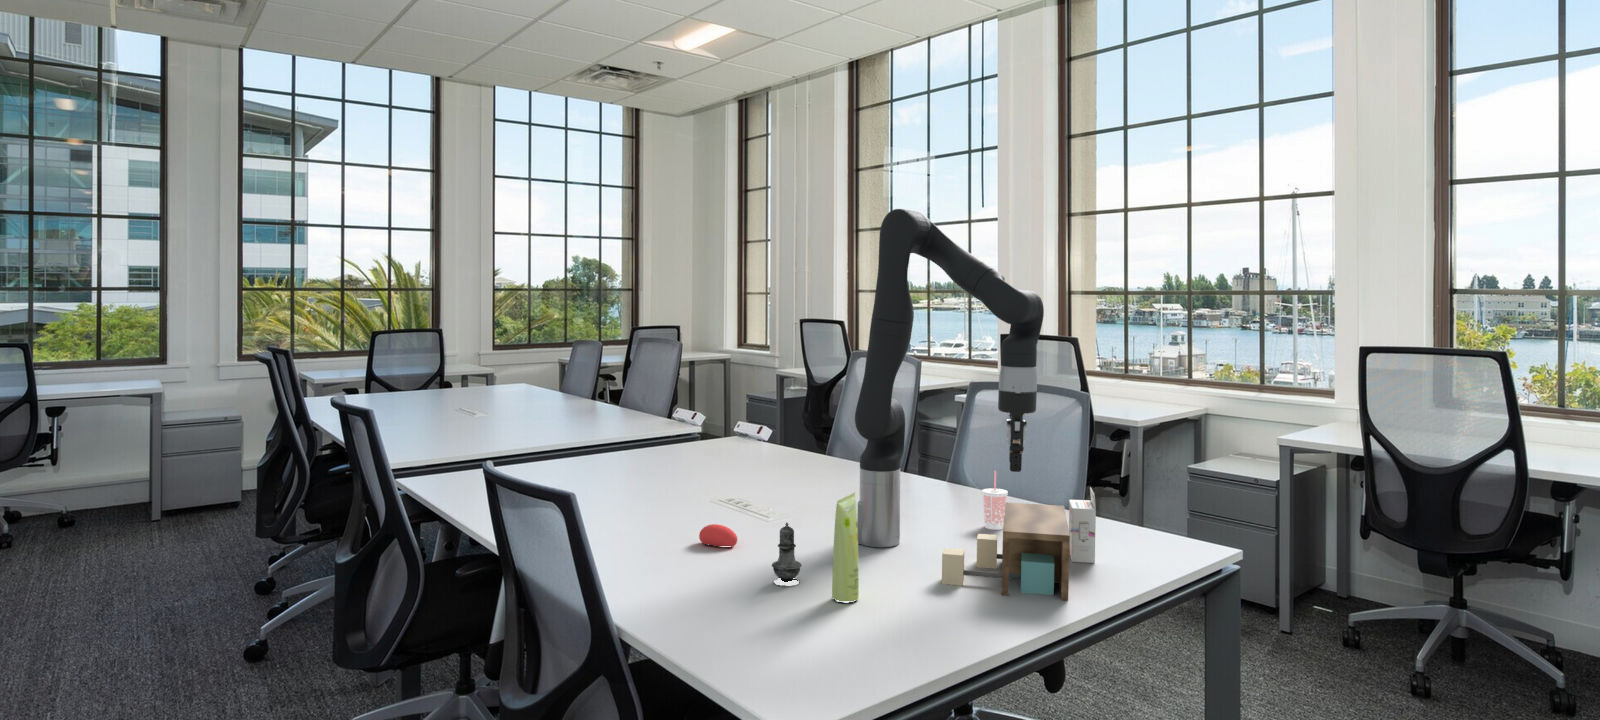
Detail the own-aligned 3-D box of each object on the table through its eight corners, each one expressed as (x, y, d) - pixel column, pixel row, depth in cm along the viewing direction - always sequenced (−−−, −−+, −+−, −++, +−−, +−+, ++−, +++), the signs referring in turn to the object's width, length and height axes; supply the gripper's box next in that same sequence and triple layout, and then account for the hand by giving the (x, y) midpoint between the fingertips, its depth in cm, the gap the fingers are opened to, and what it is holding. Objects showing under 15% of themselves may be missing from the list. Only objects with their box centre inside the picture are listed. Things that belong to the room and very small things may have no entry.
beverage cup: (1010, 526, 216) (1011, 469, 215) (1002, 531, 211) (1003, 474, 210) (986, 522, 219) (987, 467, 219) (977, 528, 214) (978, 471, 213)
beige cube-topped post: (976, 568, 182) (976, 539, 182) (977, 560, 188) (978, 532, 187) (1051, 574, 178) (1052, 545, 178) (1050, 565, 184) (1051, 537, 184)
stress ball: (716, 558, 193) (731, 533, 193) (690, 537, 198) (703, 513, 198) (729, 560, 197) (743, 536, 197) (703, 539, 202) (716, 516, 202)
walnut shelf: (1001, 594, 166) (1002, 531, 165) (1004, 558, 189) (1005, 502, 188) (1068, 600, 163) (1069, 535, 162) (1062, 562, 186) (1064, 505, 185)
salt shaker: (779, 589, 168) (780, 527, 168) (766, 580, 174) (766, 520, 173) (806, 584, 171) (807, 523, 170) (793, 576, 176) (793, 517, 176)
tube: (863, 604, 160) (864, 498, 159) (836, 606, 159) (837, 499, 158) (854, 594, 166) (855, 491, 164) (828, 596, 165) (828, 493, 163)
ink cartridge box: (1067, 551, 195) (1068, 485, 194) (1090, 552, 194) (1092, 486, 193) (1070, 562, 187) (1072, 493, 186) (1095, 563, 186) (1097, 494, 185)
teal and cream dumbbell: (941, 585, 171) (941, 555, 171) (943, 576, 177) (944, 546, 176) (1053, 595, 166) (1054, 563, 165) (1052, 585, 172) (1053, 554, 171)
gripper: (998, 384, 186) (996, 460, 188) (998, 391, 172) (996, 473, 174) (1035, 385, 185) (1032, 462, 186) (1038, 392, 171) (1035, 475, 172)
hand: (1015, 467), depth 180 cm, fingers open, 8 cm apart
